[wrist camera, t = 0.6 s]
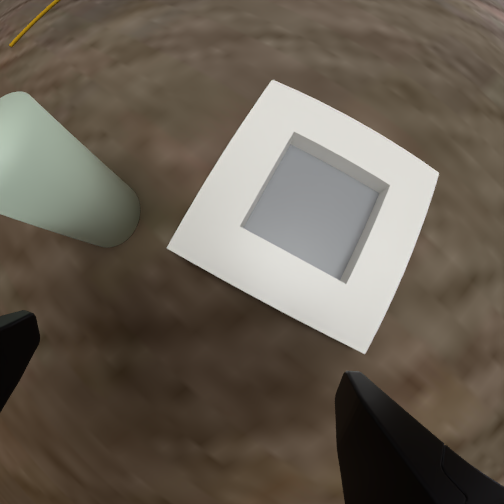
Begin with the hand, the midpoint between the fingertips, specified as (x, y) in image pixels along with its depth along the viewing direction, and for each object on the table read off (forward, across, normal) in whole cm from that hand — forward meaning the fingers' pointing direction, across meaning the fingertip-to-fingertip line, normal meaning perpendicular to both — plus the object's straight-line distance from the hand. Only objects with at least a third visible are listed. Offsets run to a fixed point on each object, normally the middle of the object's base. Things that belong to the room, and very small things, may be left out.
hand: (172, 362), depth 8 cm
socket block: (+15, -5, -2) cm, 16 cm away
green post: (+15, +9, 0) cm, 17 cm away
